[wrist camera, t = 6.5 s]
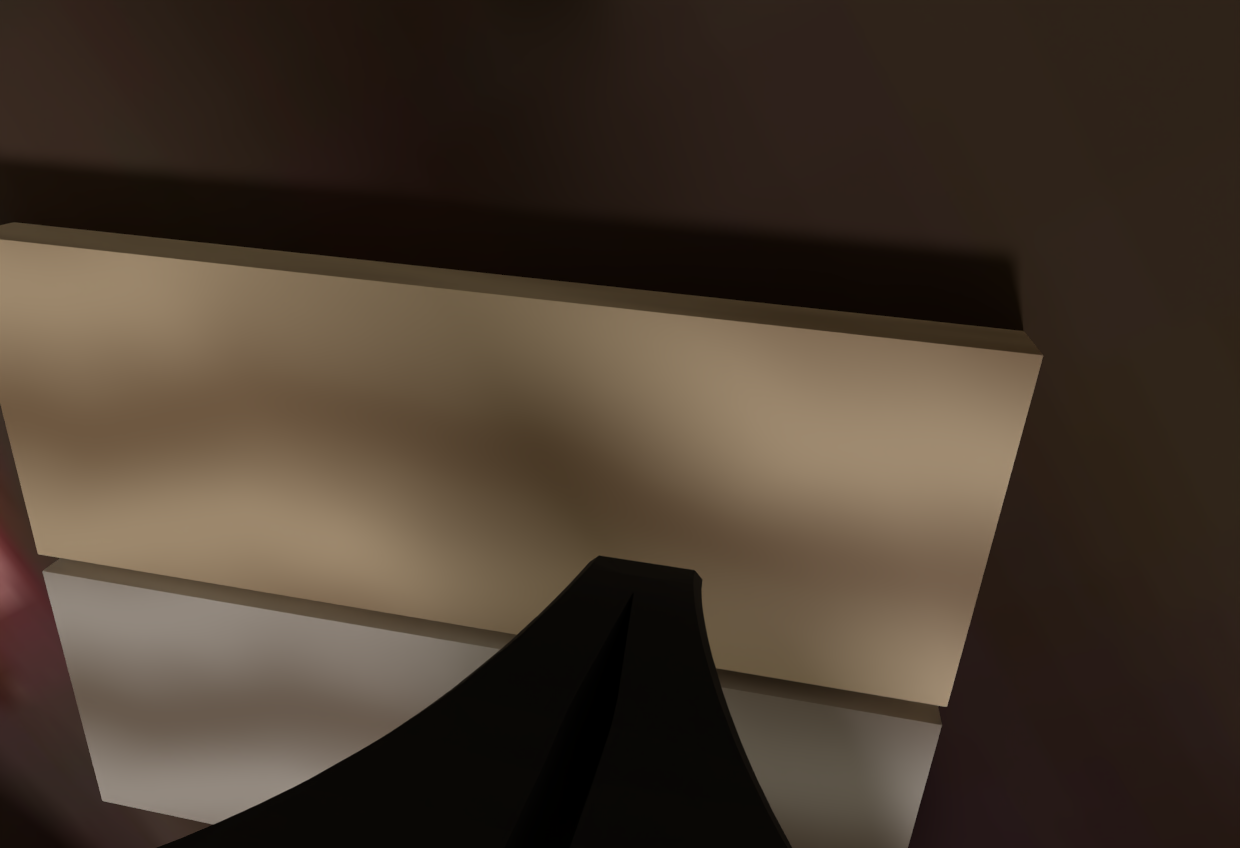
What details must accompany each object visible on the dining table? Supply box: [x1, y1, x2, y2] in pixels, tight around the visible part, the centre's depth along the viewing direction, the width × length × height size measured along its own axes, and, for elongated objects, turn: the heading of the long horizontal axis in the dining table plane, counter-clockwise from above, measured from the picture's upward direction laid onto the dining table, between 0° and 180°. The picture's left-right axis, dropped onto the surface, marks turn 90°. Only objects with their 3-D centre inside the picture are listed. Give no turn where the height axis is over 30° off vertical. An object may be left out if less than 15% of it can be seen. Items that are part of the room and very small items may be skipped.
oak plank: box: [0, 222, 1043, 707], centre depth 19 cm, size 8×22×2 cm, turn 87°
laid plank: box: [43, 558, 942, 848], centre depth 23 cm, size 8×22×2 cm, turn 87°
